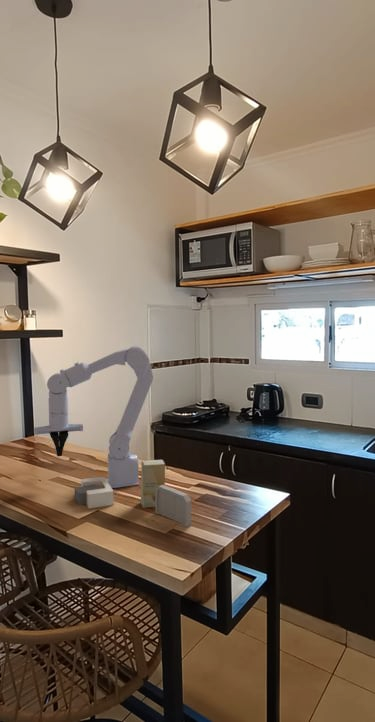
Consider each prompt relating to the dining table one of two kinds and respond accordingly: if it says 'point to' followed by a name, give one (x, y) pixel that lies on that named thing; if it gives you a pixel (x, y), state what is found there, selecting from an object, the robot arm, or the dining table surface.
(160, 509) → the light switch
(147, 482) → the skincare box
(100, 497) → the socket block
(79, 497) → the plug
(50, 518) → the dining table surface
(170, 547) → the dining table surface
